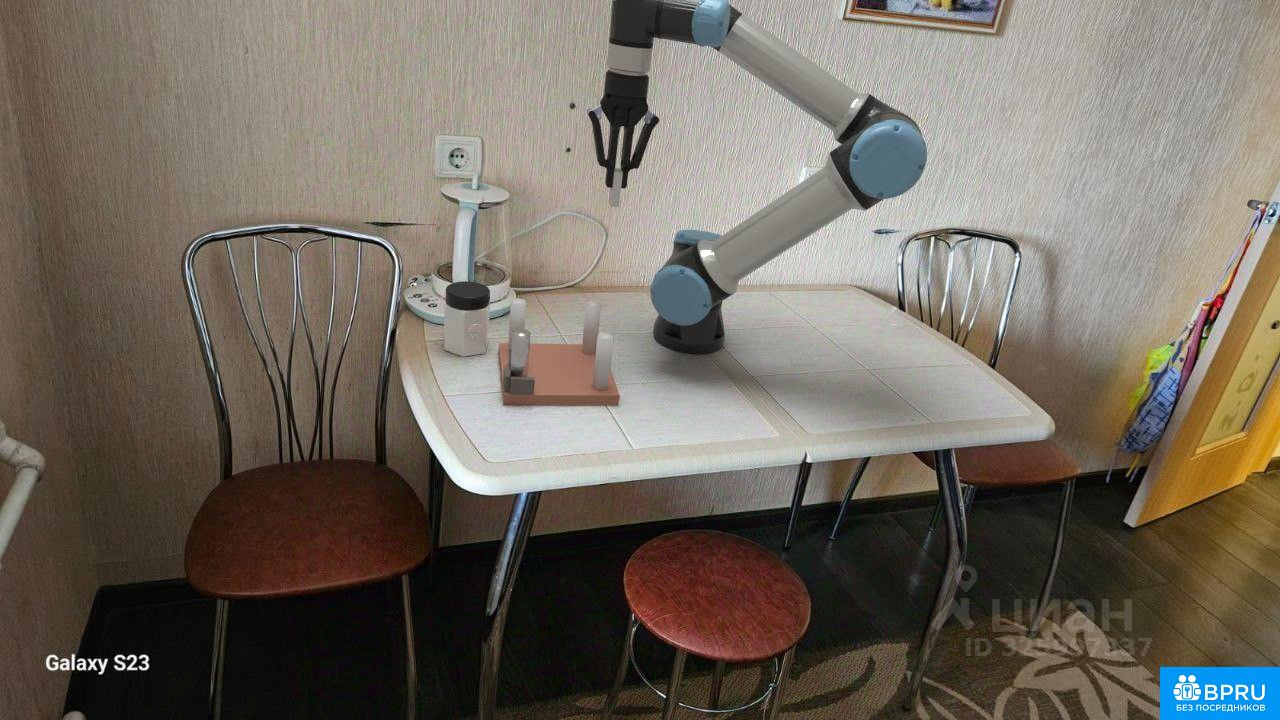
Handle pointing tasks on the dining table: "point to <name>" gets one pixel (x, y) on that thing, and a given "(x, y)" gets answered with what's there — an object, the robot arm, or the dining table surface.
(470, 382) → the dining table surface
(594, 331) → the seat
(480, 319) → the jar
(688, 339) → the robot arm
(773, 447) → the dining table surface
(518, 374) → the shiny metal angled handle
